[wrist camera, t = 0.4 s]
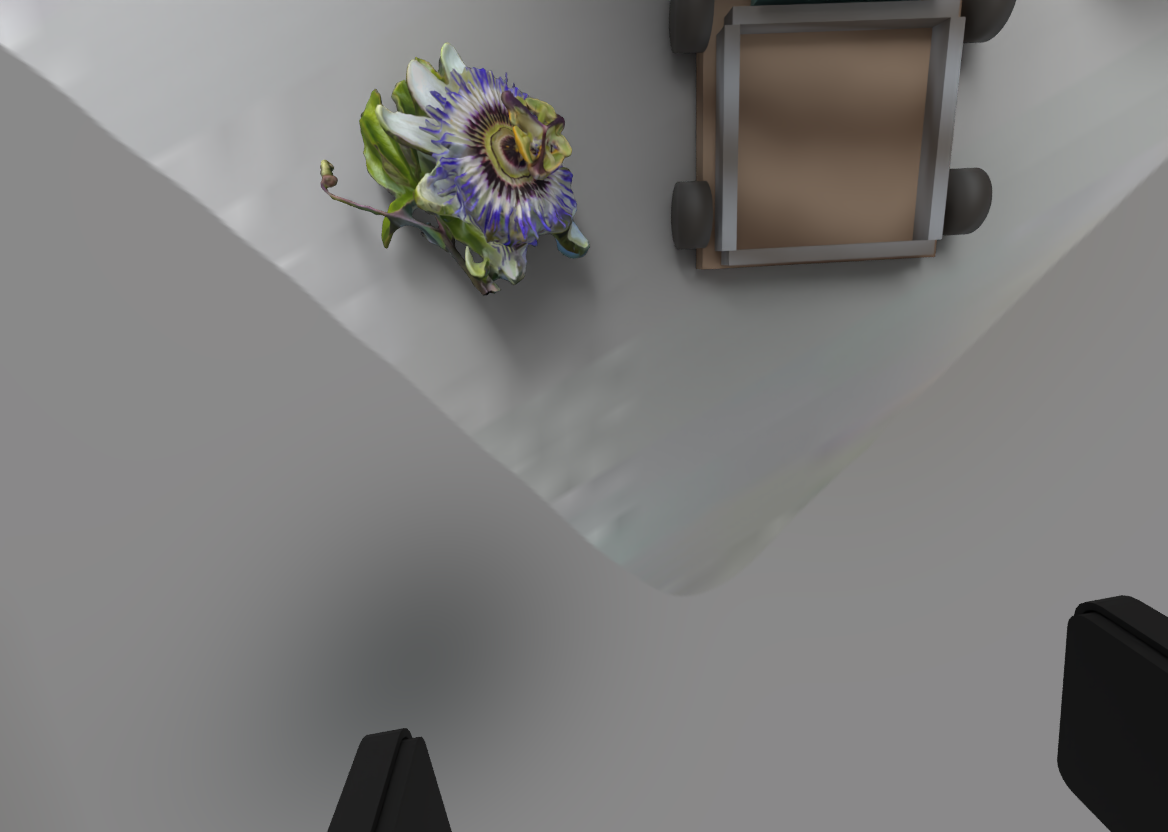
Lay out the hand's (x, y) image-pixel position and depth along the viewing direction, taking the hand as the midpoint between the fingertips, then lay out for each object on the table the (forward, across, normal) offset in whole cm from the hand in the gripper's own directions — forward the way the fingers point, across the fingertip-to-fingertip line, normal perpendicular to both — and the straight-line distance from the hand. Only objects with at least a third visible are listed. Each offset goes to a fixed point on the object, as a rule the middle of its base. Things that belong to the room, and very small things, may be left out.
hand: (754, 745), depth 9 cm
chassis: (+30, -15, -12) cm, 35 cm away
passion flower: (+30, +5, -11) cm, 33 cm away
